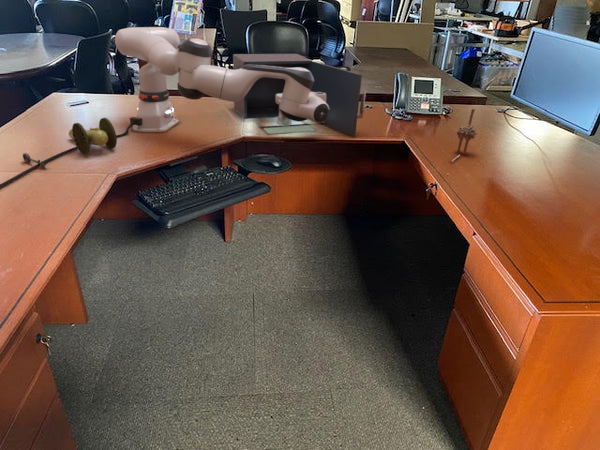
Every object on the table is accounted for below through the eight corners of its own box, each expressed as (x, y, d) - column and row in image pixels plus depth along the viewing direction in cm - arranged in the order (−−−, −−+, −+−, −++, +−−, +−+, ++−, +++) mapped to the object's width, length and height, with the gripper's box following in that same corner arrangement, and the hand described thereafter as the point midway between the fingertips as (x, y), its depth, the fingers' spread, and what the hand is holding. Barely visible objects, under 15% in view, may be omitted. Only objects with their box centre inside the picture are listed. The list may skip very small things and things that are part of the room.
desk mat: (315, 131, 198) (315, 130, 198) (268, 134, 191) (268, 133, 191) (301, 119, 213) (301, 119, 212) (256, 122, 205) (256, 121, 205)
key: (23, 161, 152) (20, 152, 151) (26, 161, 153) (23, 151, 151) (44, 170, 147) (42, 160, 145) (47, 169, 148) (45, 159, 146)
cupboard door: (320, 116, 219) (323, 60, 206) (364, 134, 197) (372, 73, 184) (308, 117, 216) (312, 61, 203) (353, 136, 193) (359, 74, 180)
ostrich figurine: (456, 149, 186) (466, 106, 177) (472, 153, 182) (483, 109, 174) (442, 160, 173) (452, 114, 165) (459, 164, 170) (470, 118, 161)
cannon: (59, 141, 171) (52, 112, 165) (89, 135, 179) (84, 107, 173) (90, 159, 157) (84, 128, 151) (121, 152, 165) (117, 122, 159)
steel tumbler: (292, 126, 201) (294, 99, 196) (280, 127, 199) (280, 100, 194) (288, 122, 206) (289, 96, 201) (275, 123, 204) (276, 96, 199)
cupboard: (309, 117, 217) (312, 60, 204) (244, 121, 206) (243, 61, 193) (294, 106, 233) (297, 53, 220) (234, 109, 222) (232, 54, 209)
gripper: (281, 111, 173) (270, 102, 184) (328, 109, 180) (315, 100, 191) (281, 95, 170) (270, 87, 181) (329, 93, 177) (316, 85, 188)
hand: (294, 94), depth 186 cm, fingers open, 8 cm apart
